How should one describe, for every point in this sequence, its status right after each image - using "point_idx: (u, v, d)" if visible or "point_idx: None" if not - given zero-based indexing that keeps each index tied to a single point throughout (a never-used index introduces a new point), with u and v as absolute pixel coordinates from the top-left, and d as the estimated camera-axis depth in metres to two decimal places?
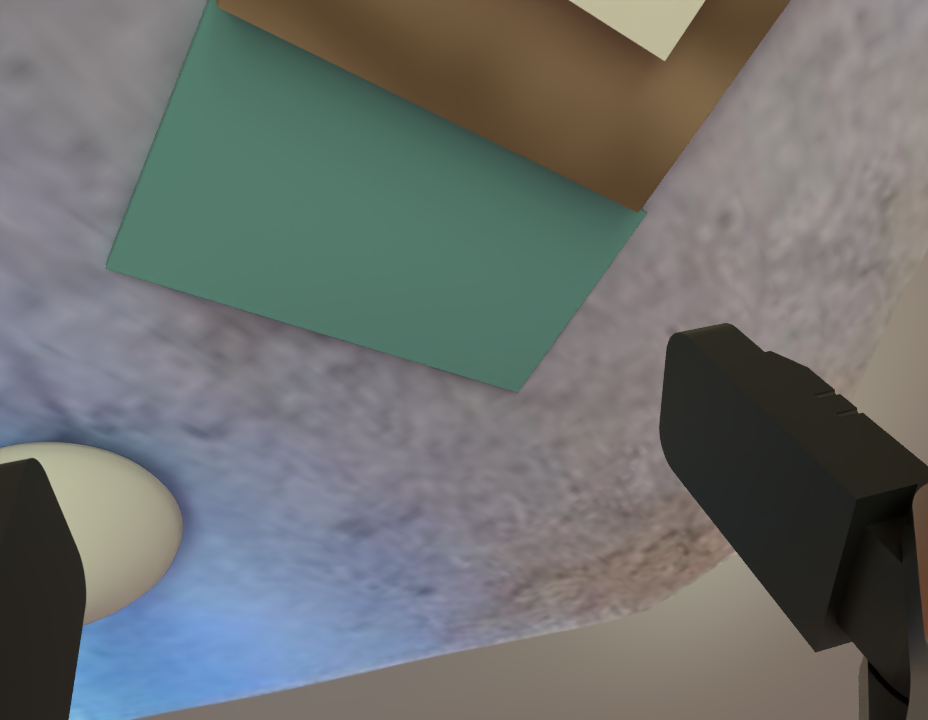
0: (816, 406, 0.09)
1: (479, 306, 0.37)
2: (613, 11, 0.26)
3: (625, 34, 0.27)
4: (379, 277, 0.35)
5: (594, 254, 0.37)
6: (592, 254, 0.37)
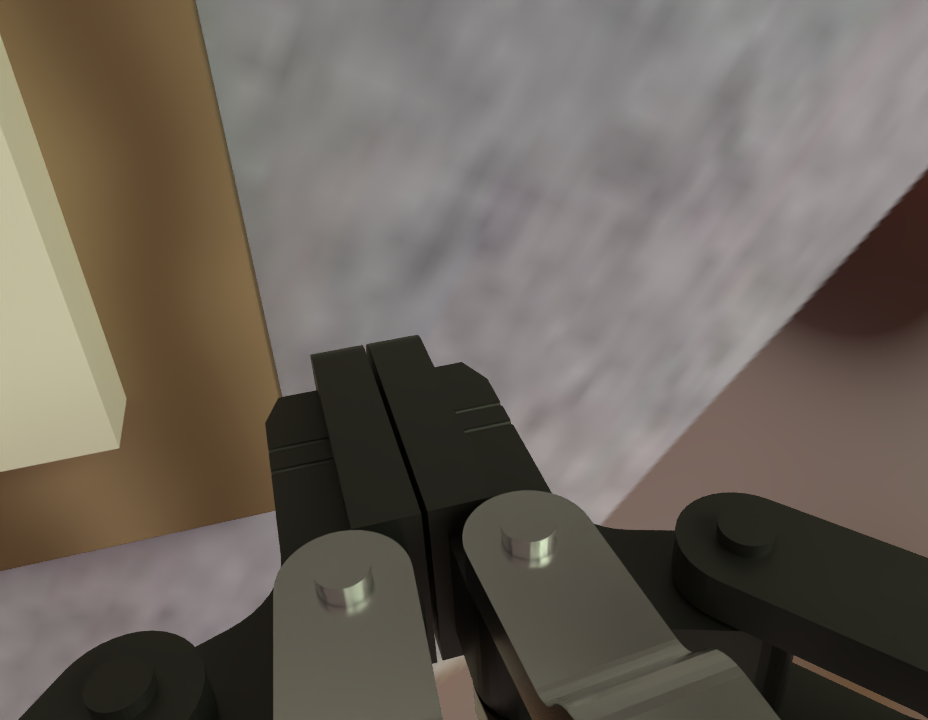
0: (446, 419, 0.09)
1: None
2: None
3: None
4: None
5: None
6: None
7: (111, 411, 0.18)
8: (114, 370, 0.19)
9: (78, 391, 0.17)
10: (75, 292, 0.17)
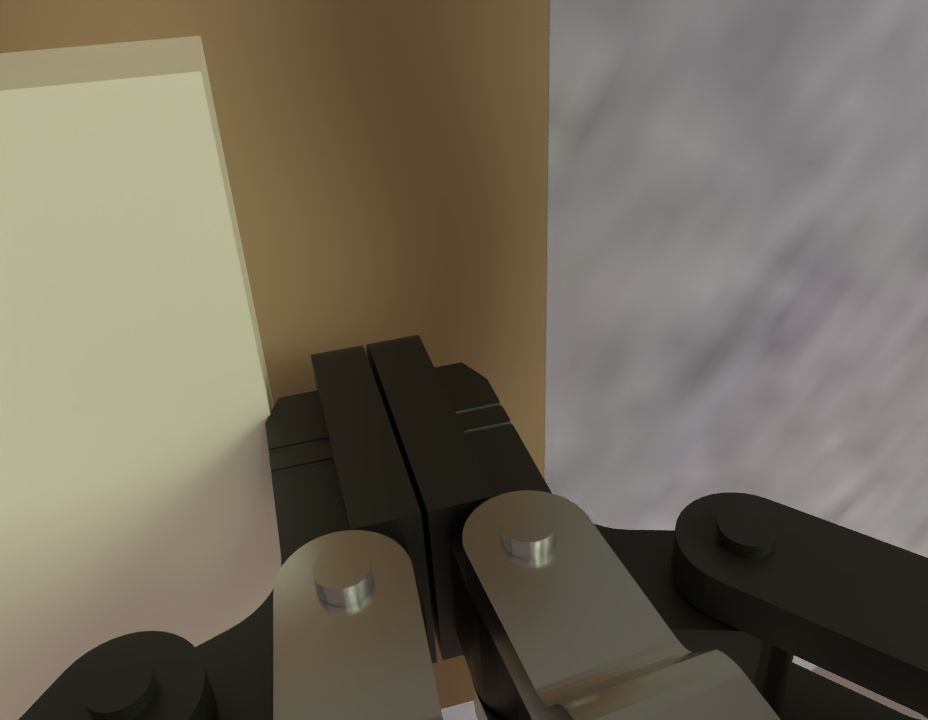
0: (446, 419, 0.09)
1: None
2: None
3: None
4: None
5: None
6: None
7: None
8: None
9: None
10: None
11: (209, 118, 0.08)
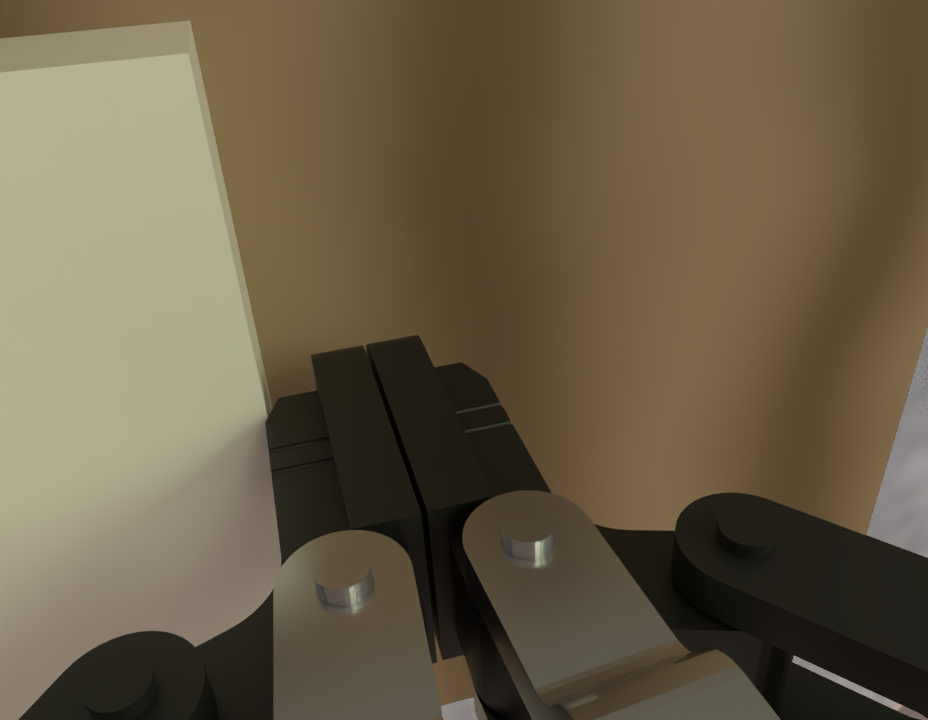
0: (446, 419, 0.09)
1: None
2: None
3: None
4: None
5: None
6: None
7: None
8: None
9: None
10: None
11: (197, 101, 0.08)
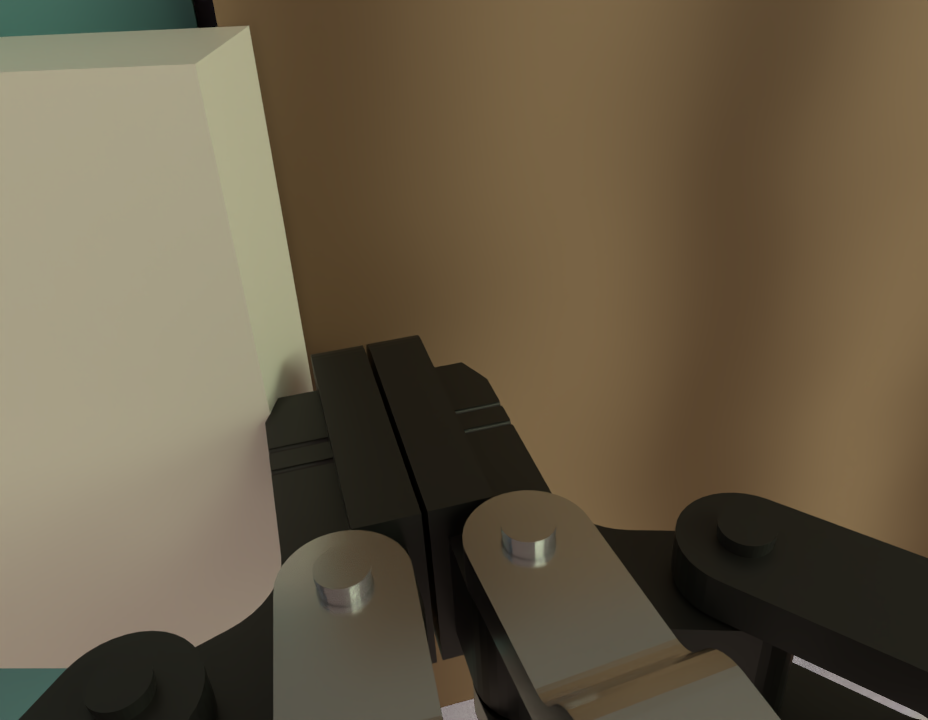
0: (446, 418, 0.09)
1: None
2: None
3: None
4: None
5: None
6: None
7: None
8: None
9: None
10: None
11: (204, 111, 0.08)
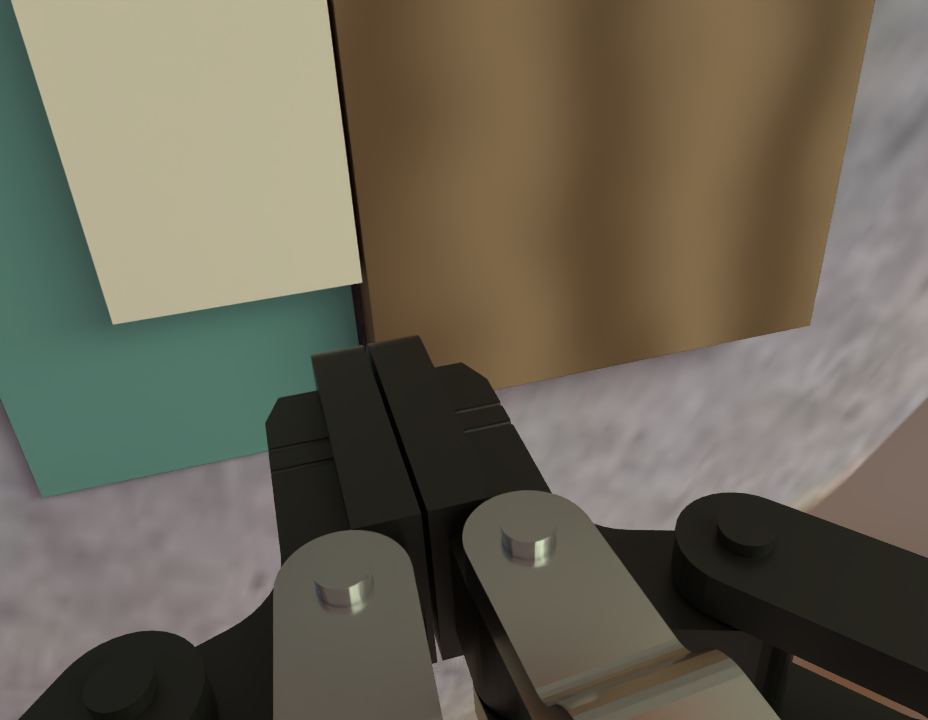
0: (446, 418, 0.09)
1: (126, 352, 0.25)
2: (101, 230, 0.21)
3: (94, 261, 0.22)
4: (64, 197, 0.22)
5: None
6: None
7: None
8: None
9: (342, 233, 0.23)
10: None
11: None
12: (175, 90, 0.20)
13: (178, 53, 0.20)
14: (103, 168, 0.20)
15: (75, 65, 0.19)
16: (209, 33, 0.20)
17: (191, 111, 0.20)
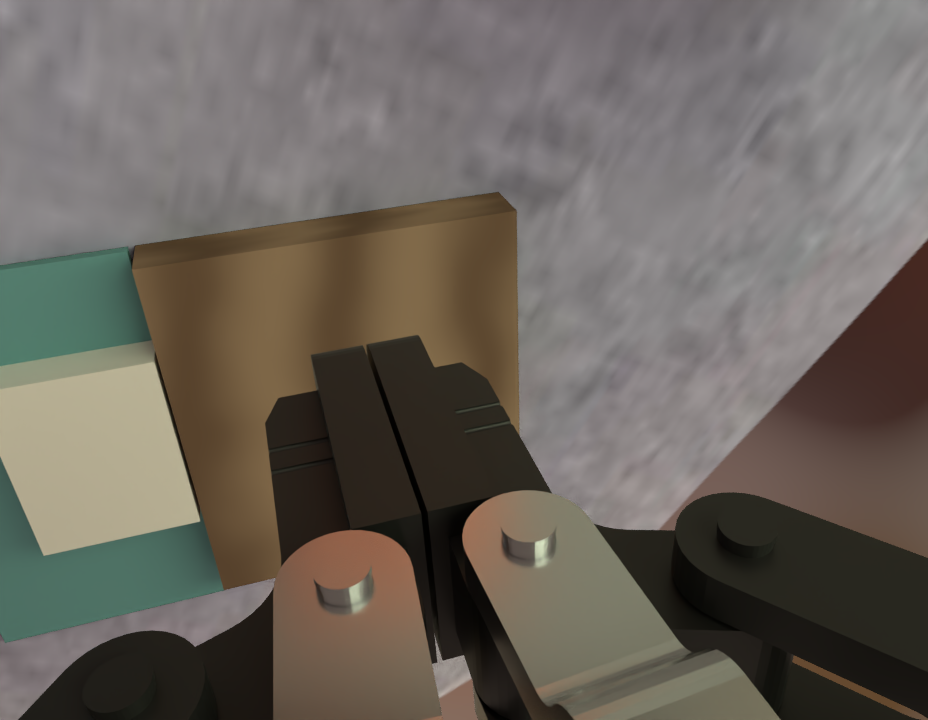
0: (447, 419, 0.09)
1: (56, 558, 0.40)
2: (34, 509, 0.36)
3: (31, 525, 0.36)
4: None
5: (167, 588, 0.43)
6: (165, 587, 0.43)
7: (196, 504, 0.39)
8: None
9: (184, 497, 0.38)
10: (184, 453, 0.38)
11: (156, 371, 0.34)
12: (74, 438, 0.35)
13: (75, 421, 0.35)
14: (34, 479, 0.35)
15: (16, 433, 0.34)
16: (93, 410, 0.35)
17: (85, 447, 0.35)
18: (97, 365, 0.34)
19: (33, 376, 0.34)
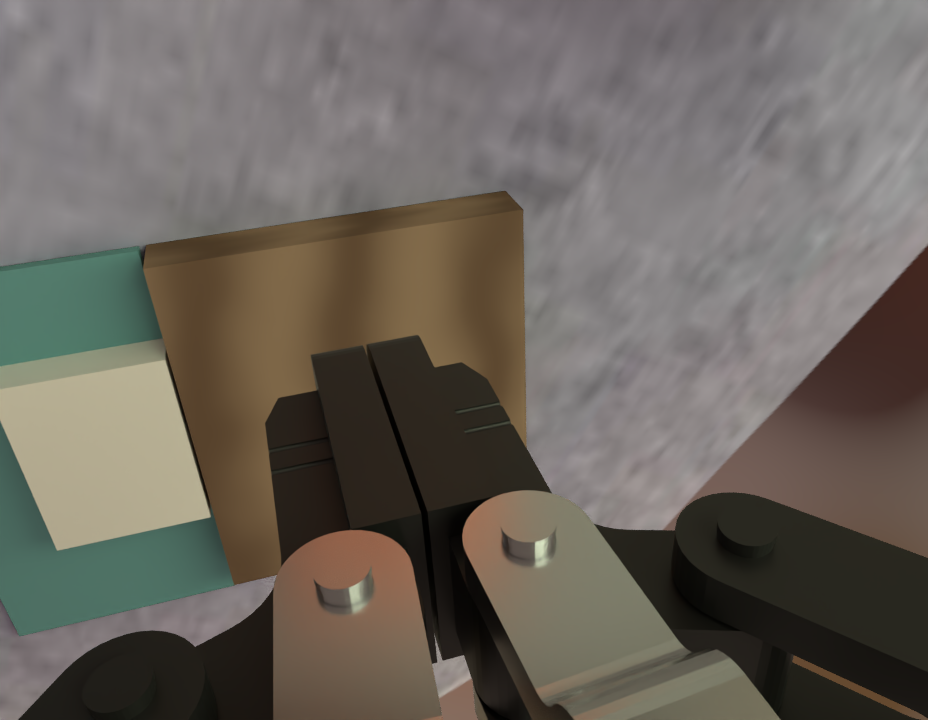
0: (446, 418, 0.09)
1: (69, 552, 0.41)
2: (47, 505, 0.37)
3: (44, 520, 0.37)
4: None
5: (178, 583, 0.43)
6: (176, 582, 0.43)
7: (207, 500, 0.39)
8: None
9: (195, 493, 0.38)
10: (194, 449, 0.38)
11: (167, 368, 0.35)
12: (87, 435, 0.35)
13: (88, 418, 0.35)
14: (47, 475, 0.36)
15: (29, 430, 0.35)
16: (105, 407, 0.35)
17: (97, 443, 0.36)
18: (109, 363, 0.35)
19: (46, 374, 0.34)
